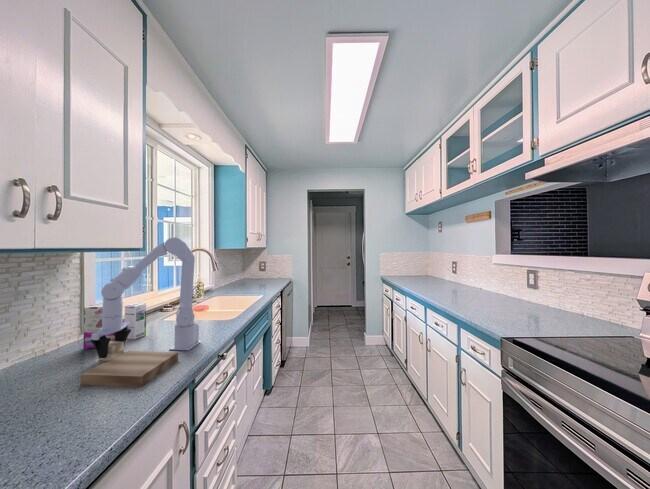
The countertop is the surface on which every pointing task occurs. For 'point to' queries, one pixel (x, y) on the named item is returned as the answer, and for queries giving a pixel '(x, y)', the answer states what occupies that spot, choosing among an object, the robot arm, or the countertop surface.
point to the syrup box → (136, 319)
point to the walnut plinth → (130, 369)
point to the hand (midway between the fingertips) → (111, 353)
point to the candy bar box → (93, 325)
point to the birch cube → (114, 350)
